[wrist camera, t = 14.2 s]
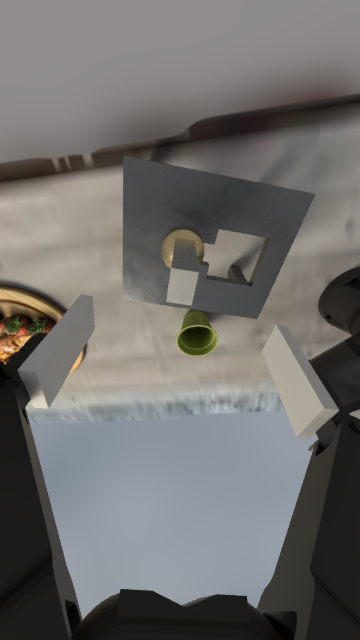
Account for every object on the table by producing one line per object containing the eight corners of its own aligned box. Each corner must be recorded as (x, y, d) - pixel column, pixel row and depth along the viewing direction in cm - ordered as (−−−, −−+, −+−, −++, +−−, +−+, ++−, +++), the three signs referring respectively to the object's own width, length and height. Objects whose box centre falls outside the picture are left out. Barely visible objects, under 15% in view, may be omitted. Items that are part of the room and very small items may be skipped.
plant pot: (178, 302, 52) (177, 324, 45) (216, 305, 52) (221, 326, 45) (176, 332, 58) (175, 355, 51) (211, 334, 58) (214, 357, 51)
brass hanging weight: (203, 219, 34) (219, 264, 18) (196, 253, 37) (204, 316, 22) (169, 212, 34) (154, 253, 18) (164, 247, 37) (149, 308, 21)
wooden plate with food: (79, 383, 72) (68, 405, 65) (-27, 356, 65) (-52, 378, 59) (94, 310, 55) (82, 330, 48) (-48, 263, 48) (-86, 279, 41)
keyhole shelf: (270, 184, 38) (315, 194, 25) (237, 277, 48) (257, 319, 35) (145, 159, 36) (123, 155, 23) (140, 261, 46) (122, 298, 33)
